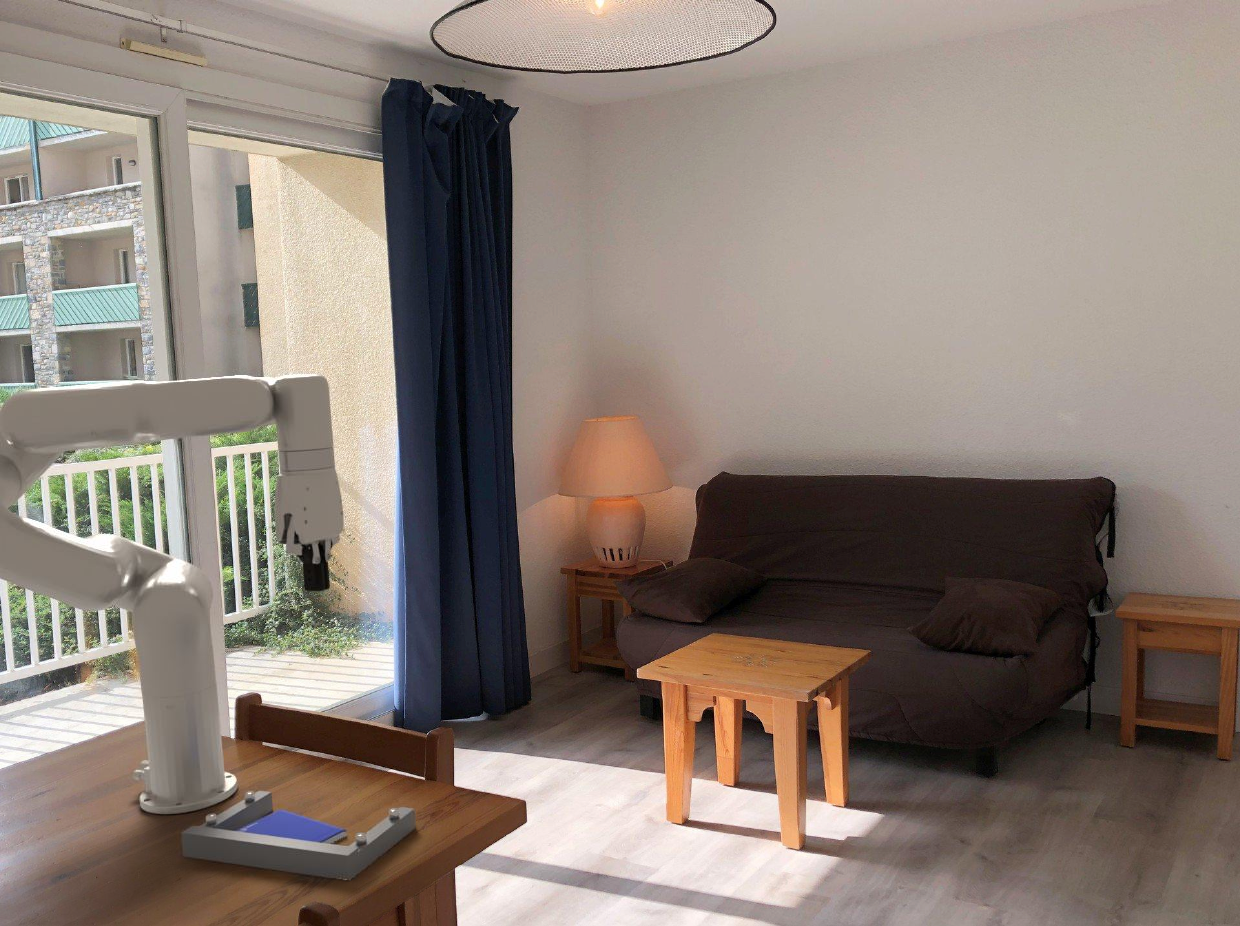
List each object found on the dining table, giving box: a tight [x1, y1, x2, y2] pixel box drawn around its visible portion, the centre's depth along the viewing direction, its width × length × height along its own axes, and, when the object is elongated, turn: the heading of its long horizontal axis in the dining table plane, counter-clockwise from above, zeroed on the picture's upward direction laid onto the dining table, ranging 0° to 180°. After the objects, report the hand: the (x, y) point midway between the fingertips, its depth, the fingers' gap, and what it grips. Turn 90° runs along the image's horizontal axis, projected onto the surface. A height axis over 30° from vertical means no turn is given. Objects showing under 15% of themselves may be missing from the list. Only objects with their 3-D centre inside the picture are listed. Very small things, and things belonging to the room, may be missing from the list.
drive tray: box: [180, 790, 416, 881], centre depth 127 cm, size 24×14×4 cm, turn 70°
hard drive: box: [235, 809, 348, 844], centre depth 129 cm, size 2×8×12 cm
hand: (317, 589), depth 147 cm, fingers closed
